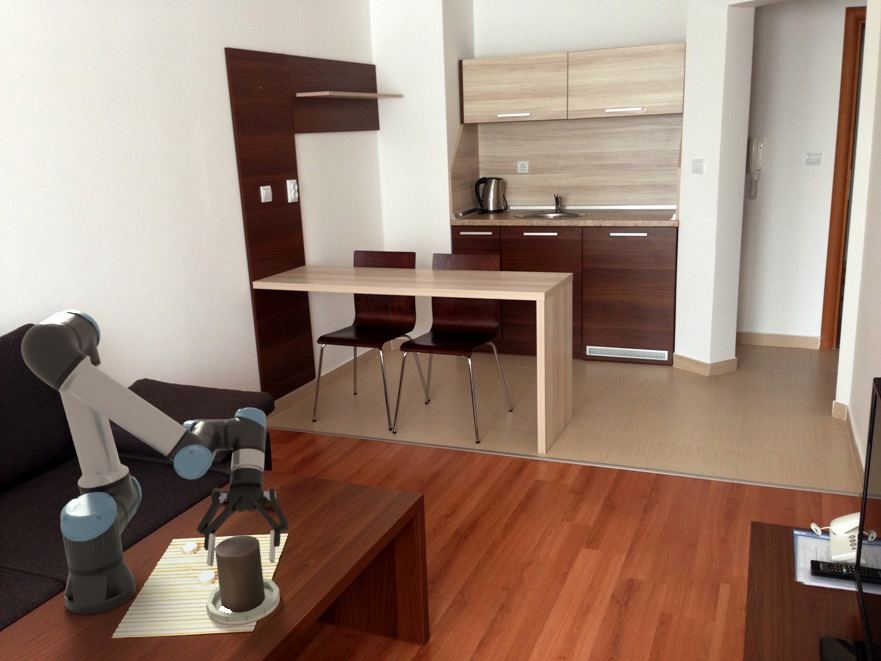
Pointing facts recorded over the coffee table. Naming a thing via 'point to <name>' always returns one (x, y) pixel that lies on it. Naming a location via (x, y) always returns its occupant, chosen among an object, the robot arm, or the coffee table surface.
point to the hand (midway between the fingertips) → (240, 563)
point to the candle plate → (247, 616)
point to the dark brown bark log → (264, 502)
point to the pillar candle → (240, 573)
